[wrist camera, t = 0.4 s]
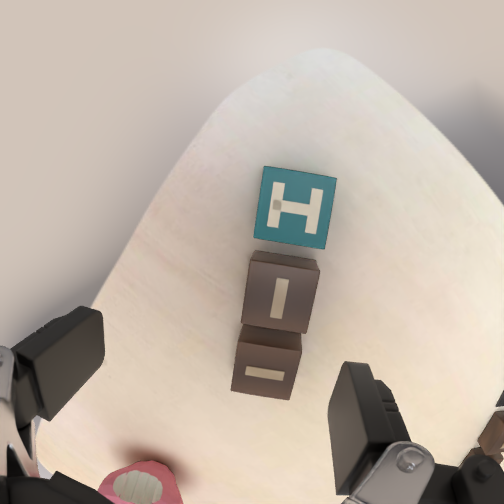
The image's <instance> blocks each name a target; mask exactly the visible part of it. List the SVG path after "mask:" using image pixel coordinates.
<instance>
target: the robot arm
mask: <svg viewBox="0 0 504 504" xmlns="http://www.w3.org/2000/svg"><path fill="white" fill-rule="evenodd" d="M104 356H105V344H104V328H103V316H102V313H101V312H100V311H98V310H94V309H91V308H88V307H84V306H79V307H77V308H76V309H74V310H73V311H71V312H70V313H69V314H67V315H65V316H62V317H58V318H55V319H53V320H51V321H50V322H48V323H47V324H46V325H44V327H41V328H40V329H38V330H37V331H36V333H35V332H34V333H32V334H31V335H29V336H28V337H26V338H25V339H24V340H22V341H21V342H19V343H18V344H16V345H15V346H14V347H12V348H11V349H9V348H7V347H5V346H0V504H115V503H113V502H112V501H110V500H109V499H107V498H106V497H105V496H103V495H102V494H100V493H99V492H98V491H96V490H95V489H93V488H91V487H88V486H86V485H84V484H82V483H80V482H78V481H76V480H74V479H72V478H70V477H68V476H66V475H64V474H62V473H60V472H58V471H56V472H55V473H54V475H53V476H52V477H51V479H50V480H49V479H44V478H40V475H39V471H38V465H37V454H36V440H35V424H34V421H33V418H34V417H35V416H36V415H38V416H40V417H42V418H43V419H45V420H47V421H49V422H50V421H51V420H52V419H53V418H54V416H55V415H56V414H57V413H58V412H59V411H60V410H61V409H62V408H63V407H64V405H65V404H66V403H67V402H68V401H69V400H70V399H71V398H72V397H73V396H74V394H75V393H76V392H77V391H78V390H79V389H80V388H81V387H82V386H83V385H84V384H85V383H86V381H87V380H88V379H89V378H90V377H91V376H92V375H93V374H94V373H95V372H96V371H97V370H98V369H99V368H100V366H101V365H102V363H103V360H104ZM398 411H399V409H398V406H397V404H396V403H395V399H394V397H393V394H392V392H391V390H390V389H389V388H388V387H387V386H386V385H385V384H384V383H383V382H382V381H381V380H374V377H373V375H372V372H371V369H370V367H369V365H368V364H366V363H357V362H347V361H345V362H344V363H343V365H342V367H341V370H340V373H339V376H338V379H337V382H336V384H335V387H334V390H333V393H332V396H331V398H330V402H329V406H328V424H329V432H330V440H331V449H332V458H333V467H334V477H335V487H336V495H349V497H347V498H346V499H345V500H344V501H343V502H342V503H341V504H504V472H503V470H502V468H501V466H500V465H499V464H498V462H496V461H495V460H494V459H493V458H491V457H489V456H486V455H482V454H475V455H471V456H469V457H468V458H466V459H465V461H464V462H463V463H462V465H461V466H460V467H455V466H448V465H442V464H437V463H435V462H434V458H433V456H432V455H431V453H430V452H429V451H428V450H427V449H426V448H424V447H423V446H421V445H419V444H416V443H413V442H411V439H410V437H409V434H408V431H407V429H406V426H405V424H404V421H403V419H402V416H401V414H400V412H398Z"/></svg>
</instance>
